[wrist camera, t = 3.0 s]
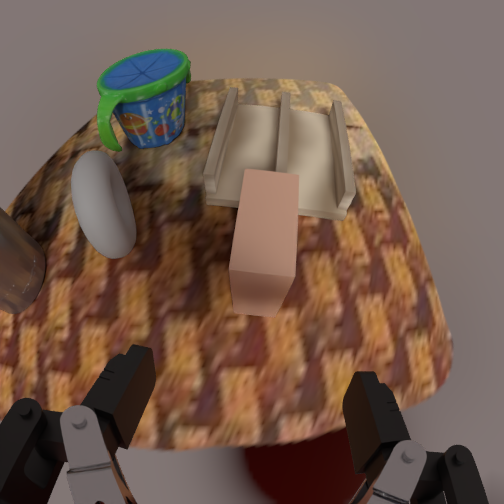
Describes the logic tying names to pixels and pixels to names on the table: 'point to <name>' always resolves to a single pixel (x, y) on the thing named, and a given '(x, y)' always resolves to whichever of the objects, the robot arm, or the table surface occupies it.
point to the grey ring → (103, 205)
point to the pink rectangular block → (264, 242)
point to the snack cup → (144, 98)
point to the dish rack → (282, 154)
